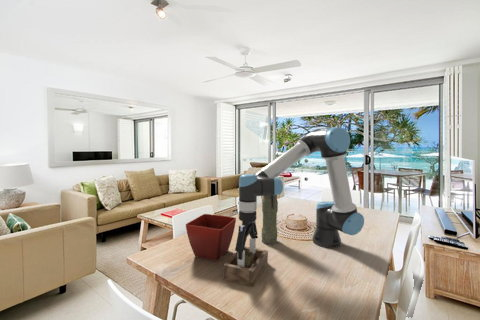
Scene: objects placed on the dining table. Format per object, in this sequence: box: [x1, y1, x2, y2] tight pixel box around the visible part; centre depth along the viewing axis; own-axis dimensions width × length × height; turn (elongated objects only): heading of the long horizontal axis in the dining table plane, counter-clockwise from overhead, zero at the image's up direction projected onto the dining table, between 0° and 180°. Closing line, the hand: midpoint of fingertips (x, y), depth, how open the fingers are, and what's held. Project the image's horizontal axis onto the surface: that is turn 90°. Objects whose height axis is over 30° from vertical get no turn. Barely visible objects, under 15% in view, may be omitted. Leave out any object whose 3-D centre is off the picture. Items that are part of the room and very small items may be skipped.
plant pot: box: [185, 213, 237, 262], centre depth 118 cm, size 19×19×17 cm
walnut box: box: [223, 245, 269, 287], centre depth 102 cm, size 13×20×6 cm, turn 157°
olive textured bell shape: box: [236, 251, 254, 268], centre depth 99 cm, size 8×7×8 cm
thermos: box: [261, 195, 279, 245], centre depth 134 cm, size 9×12×35 cm
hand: (247, 259), depth 102 cm, fingers open, 13 cm apart
